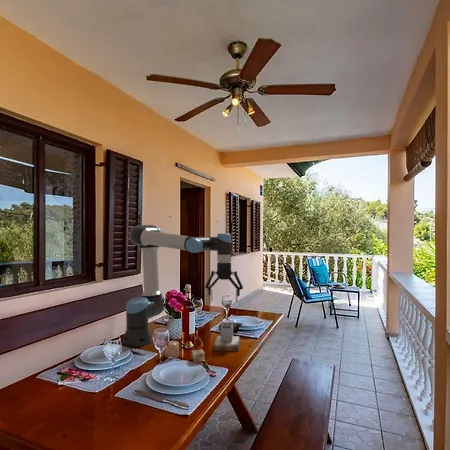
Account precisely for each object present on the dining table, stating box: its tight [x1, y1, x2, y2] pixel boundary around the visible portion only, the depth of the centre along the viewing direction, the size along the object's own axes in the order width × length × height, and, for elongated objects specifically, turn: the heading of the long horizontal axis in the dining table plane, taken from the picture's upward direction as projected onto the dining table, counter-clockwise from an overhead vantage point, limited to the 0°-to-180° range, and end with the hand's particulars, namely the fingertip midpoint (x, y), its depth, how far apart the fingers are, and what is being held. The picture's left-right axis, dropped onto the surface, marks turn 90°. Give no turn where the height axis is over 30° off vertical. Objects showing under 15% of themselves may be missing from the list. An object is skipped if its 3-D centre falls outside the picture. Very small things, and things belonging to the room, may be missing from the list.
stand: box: [212, 335, 241, 352], centre depth 165 cm, size 13×13×3 cm
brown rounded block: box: [164, 340, 180, 359], centre depth 153 cm, size 7×7×6 cm
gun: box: [218, 322, 243, 336], centre depth 185 cm, size 4×20×10 cm, turn 146°
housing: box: [220, 322, 234, 343], centre depth 165 cm, size 7×6×8 cm
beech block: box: [191, 348, 206, 363], centre depth 147 cm, size 5×5×4 cm
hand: (223, 301), depth 166 cm, fingers open, 13 cm apart
